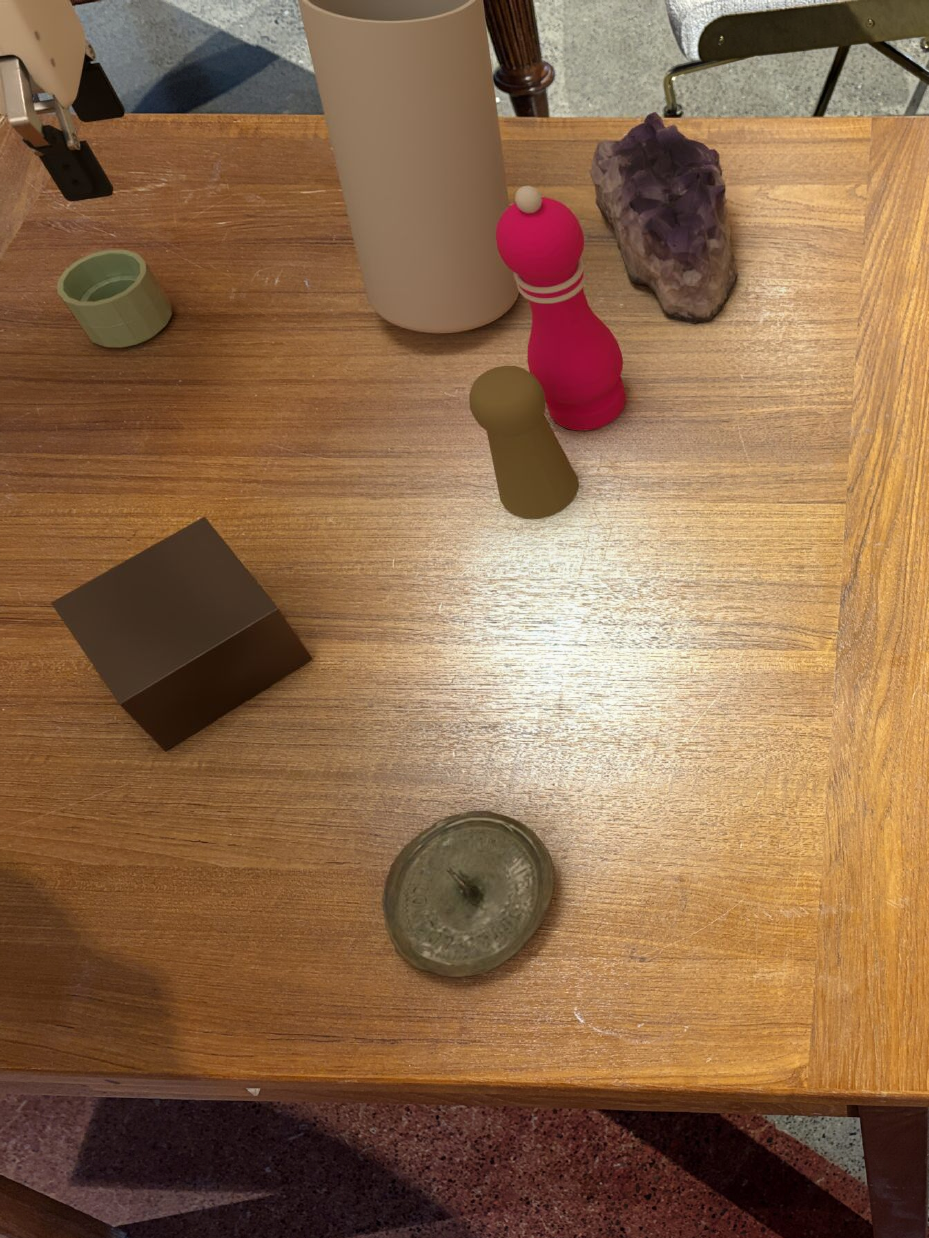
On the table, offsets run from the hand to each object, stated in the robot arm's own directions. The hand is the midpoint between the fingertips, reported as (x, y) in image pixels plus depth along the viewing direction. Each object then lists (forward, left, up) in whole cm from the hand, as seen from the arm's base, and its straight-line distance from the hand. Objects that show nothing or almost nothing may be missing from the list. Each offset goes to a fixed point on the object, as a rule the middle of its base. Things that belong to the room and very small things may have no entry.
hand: (98, 156), depth 93 cm
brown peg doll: (+11, -33, -18) cm, 39 cm away
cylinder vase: (+17, -10, -17) cm, 26 cm away
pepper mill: (+19, -28, -18) cm, 38 cm away
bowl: (-4, +7, -18) cm, 20 cm away
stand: (-15, -30, -18) cm, 38 cm away
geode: (+36, -18, -18) cm, 44 cm away
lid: (-11, -59, -18) cm, 63 cm away
